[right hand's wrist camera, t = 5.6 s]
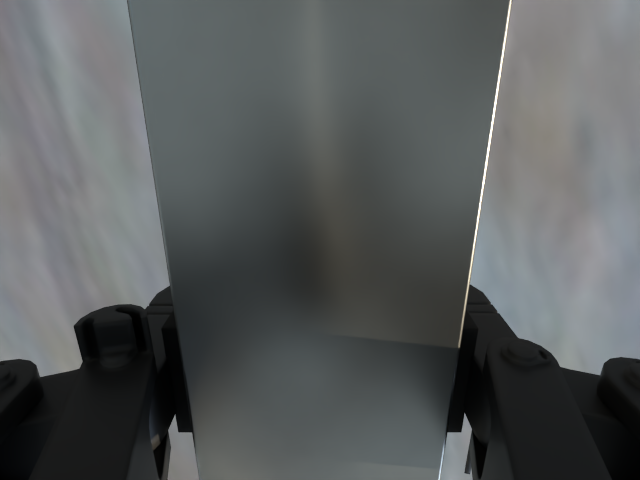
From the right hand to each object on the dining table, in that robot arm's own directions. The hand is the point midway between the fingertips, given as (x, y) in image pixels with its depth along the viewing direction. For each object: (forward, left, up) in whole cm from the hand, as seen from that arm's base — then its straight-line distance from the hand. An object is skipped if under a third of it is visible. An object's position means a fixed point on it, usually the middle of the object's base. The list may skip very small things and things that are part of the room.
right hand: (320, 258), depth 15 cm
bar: (+4, +7, -1) cm, 8 cm away
